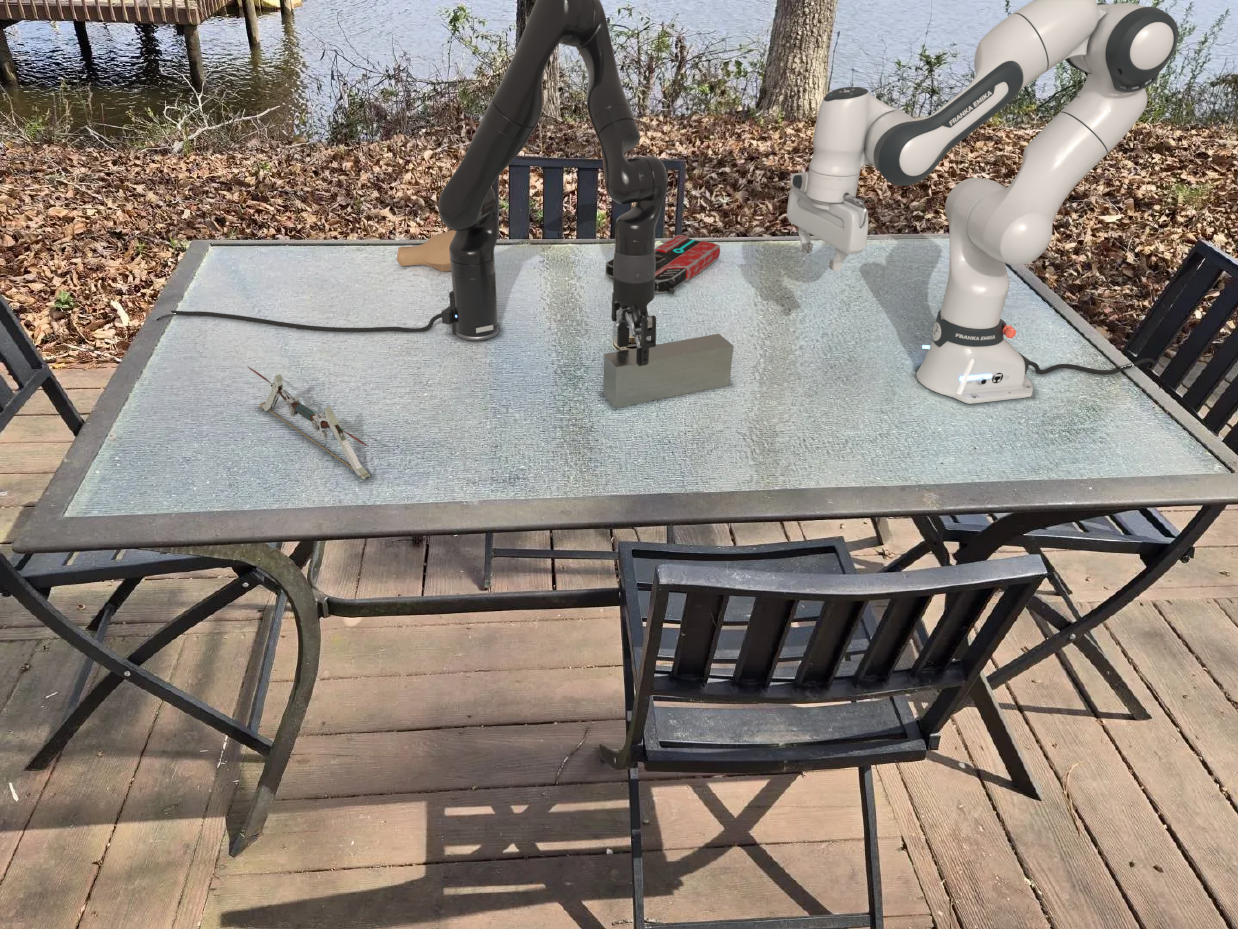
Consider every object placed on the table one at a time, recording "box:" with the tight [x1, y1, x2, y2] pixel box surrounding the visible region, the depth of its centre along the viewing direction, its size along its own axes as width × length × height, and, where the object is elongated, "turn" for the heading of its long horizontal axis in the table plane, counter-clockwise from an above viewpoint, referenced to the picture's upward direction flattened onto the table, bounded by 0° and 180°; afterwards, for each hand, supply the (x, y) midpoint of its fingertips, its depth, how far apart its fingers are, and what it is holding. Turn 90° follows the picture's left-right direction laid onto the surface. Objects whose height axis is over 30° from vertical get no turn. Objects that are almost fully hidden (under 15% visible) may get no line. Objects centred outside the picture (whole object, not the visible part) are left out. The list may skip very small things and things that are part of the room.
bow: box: [247, 365, 371, 480], centre depth 151 cm, size 39×2×10 cm, turn 47°
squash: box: [396, 229, 456, 273], centre depth 222 cm, size 11×20×9 cm, turn 90°
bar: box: [602, 333, 734, 409], centre depth 171 cm, size 25×6×9 cm, turn 114°
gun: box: [605, 234, 721, 295], centre depth 225 cm, size 4×31×19 cm
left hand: (632, 355), depth 165 cm, fingers open, 8 cm apart
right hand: (820, 261), depth 163 cm, fingers open, 8 cm apart
